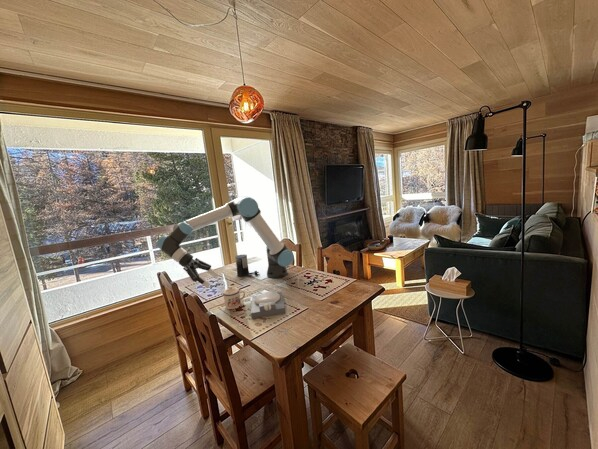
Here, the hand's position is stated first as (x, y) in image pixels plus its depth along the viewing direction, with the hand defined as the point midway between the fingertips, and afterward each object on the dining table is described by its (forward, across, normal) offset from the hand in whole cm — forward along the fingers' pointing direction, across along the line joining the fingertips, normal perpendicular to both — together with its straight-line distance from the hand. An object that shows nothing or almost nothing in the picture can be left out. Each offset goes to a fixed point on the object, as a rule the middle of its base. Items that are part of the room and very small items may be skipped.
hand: (213, 281), depth 141 cm
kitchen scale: (+32, +5, +10) cm, 34 cm away
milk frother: (+15, -49, -6) cm, 52 cm away
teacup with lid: (+18, 0, -3) cm, 19 cm away
